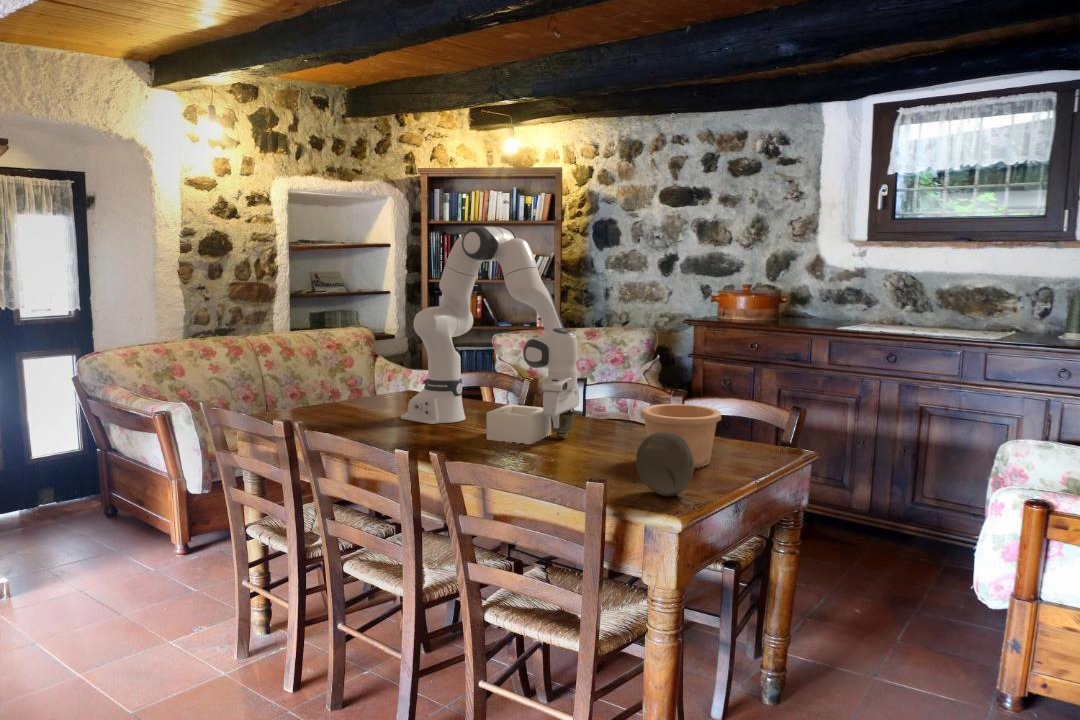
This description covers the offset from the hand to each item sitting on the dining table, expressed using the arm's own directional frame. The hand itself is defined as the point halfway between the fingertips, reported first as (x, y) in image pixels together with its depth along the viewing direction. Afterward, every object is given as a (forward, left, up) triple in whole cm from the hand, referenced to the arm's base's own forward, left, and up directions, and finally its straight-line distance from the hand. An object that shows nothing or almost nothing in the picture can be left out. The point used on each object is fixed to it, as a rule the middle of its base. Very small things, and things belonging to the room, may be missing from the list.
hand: (561, 425), depth 255 cm
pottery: (+40, -11, -4) cm, 42 cm away
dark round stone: (+45, -43, -4) cm, 63 cm away
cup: (0, 0, -4) cm, 4 cm away
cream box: (-13, -4, -4) cm, 14 cm away
